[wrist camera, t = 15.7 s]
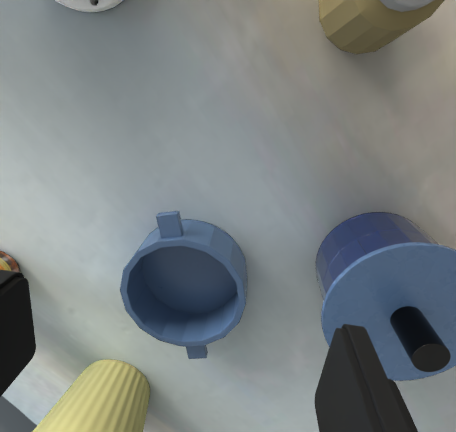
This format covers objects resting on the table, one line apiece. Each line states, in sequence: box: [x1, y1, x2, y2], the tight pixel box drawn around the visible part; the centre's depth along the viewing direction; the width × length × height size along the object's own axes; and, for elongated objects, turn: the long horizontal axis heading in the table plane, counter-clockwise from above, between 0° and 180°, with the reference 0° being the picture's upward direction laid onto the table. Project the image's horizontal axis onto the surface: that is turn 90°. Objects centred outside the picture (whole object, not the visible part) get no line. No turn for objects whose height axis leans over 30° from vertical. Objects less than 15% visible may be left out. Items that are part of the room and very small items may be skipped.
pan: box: [120, 211, 247, 359], centre depth 42 cm, size 15×20×6 cm
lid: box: [321, 242, 456, 381], centre depth 30 cm, size 16×16×6 cm
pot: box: [316, 212, 439, 300], centre depth 37 cm, size 14×14×10 cm
